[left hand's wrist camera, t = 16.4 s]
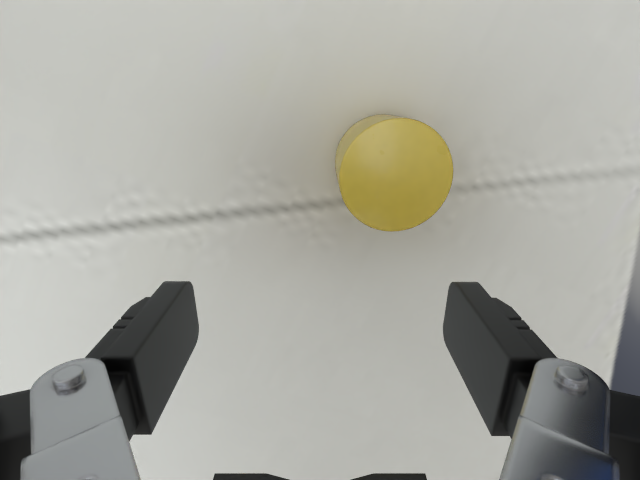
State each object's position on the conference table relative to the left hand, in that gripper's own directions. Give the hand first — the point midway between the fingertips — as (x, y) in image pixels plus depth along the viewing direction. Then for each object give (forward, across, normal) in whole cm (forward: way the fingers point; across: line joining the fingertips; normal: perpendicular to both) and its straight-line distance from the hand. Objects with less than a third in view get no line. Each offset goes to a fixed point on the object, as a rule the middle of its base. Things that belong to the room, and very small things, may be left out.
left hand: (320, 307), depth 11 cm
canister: (+10, -3, -3) cm, 11 cm away
